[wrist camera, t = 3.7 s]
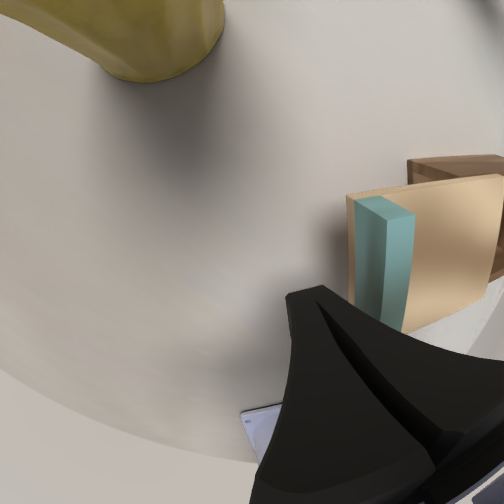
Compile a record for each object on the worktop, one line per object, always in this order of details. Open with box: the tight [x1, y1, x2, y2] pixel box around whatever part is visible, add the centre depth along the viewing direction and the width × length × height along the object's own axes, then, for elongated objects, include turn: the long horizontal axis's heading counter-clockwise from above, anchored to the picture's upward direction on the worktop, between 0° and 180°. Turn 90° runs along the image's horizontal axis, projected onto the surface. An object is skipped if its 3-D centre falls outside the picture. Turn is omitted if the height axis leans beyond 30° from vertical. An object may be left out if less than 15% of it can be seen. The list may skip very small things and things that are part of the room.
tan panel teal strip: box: [346, 174, 504, 334], centre depth 10 cm, size 7×9×3 cm
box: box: [408, 155, 504, 283], centre depth 13 cm, size 7×9×4 cm
